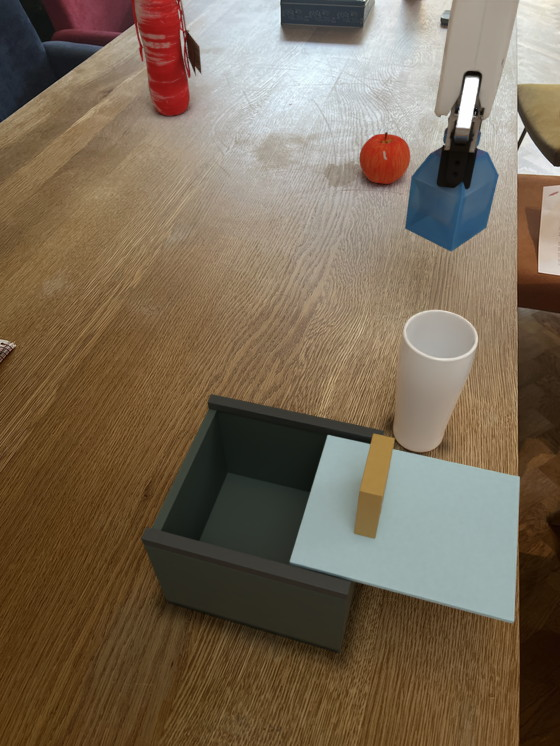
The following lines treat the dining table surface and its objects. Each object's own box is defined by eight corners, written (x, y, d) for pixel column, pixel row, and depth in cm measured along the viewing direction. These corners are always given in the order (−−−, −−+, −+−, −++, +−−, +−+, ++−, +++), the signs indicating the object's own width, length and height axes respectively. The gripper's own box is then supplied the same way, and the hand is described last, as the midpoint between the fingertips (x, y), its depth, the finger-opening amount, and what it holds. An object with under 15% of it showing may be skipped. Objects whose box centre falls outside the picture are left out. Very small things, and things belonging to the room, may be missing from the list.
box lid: (518, 479, 49) (541, 430, 44) (512, 624, 41) (540, 583, 36) (327, 437, 52) (329, 387, 47) (289, 564, 44) (287, 520, 40)
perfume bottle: (451, 251, 64) (472, 141, 55) (405, 228, 67) (418, 120, 58) (486, 227, 67) (512, 118, 58) (440, 206, 70) (457, 100, 61)
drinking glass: (379, 451, 64) (395, 351, 53) (392, 404, 69) (409, 302, 58) (444, 467, 63) (474, 368, 52) (453, 418, 67) (483, 316, 56)
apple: (405, 193, 98) (412, 145, 92) (355, 189, 99) (358, 142, 93) (408, 168, 103) (415, 121, 97) (360, 164, 104) (364, 118, 99)
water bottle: (214, 102, 123) (198, -45, 104) (205, 120, 117) (187, -32, 99) (155, 100, 124) (130, -46, 105) (144, 118, 119) (115, -32, 100)
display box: (372, 504, 60) (384, 430, 51) (340, 653, 51) (347, 594, 42) (223, 468, 63) (210, 393, 55) (167, 603, 54) (140, 538, 45)
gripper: (456, -66, 55) (429, 129, 68) (433, -10, 44) (406, 211, 57) (544, -64, 54) (498, 136, 67) (543, -5, 42) (489, 221, 56)
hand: (456, 169), depth 62 cm, fingers closed on perfume bottle, 5 cm apart
